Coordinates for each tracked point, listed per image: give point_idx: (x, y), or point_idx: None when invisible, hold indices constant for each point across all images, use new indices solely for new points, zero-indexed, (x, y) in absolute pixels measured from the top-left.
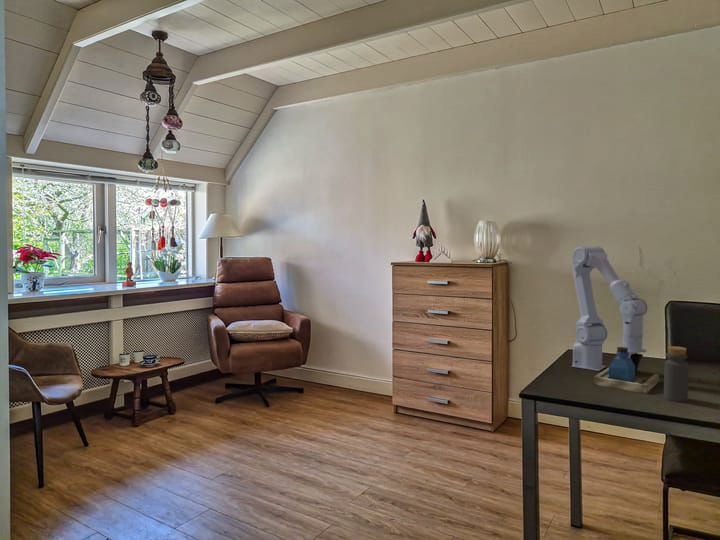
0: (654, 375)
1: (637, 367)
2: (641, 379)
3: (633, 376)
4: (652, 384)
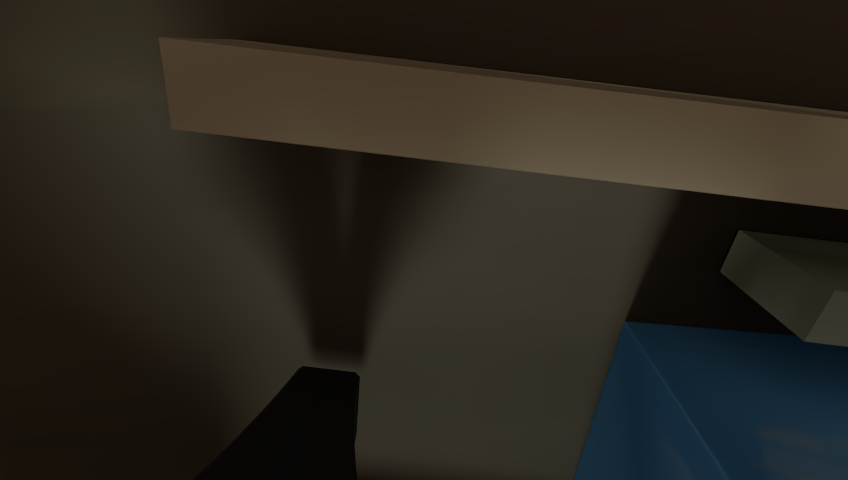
0: (327, 121)
1: (249, 466)
2: (830, 307)
3: (812, 440)
4: (766, 105)
